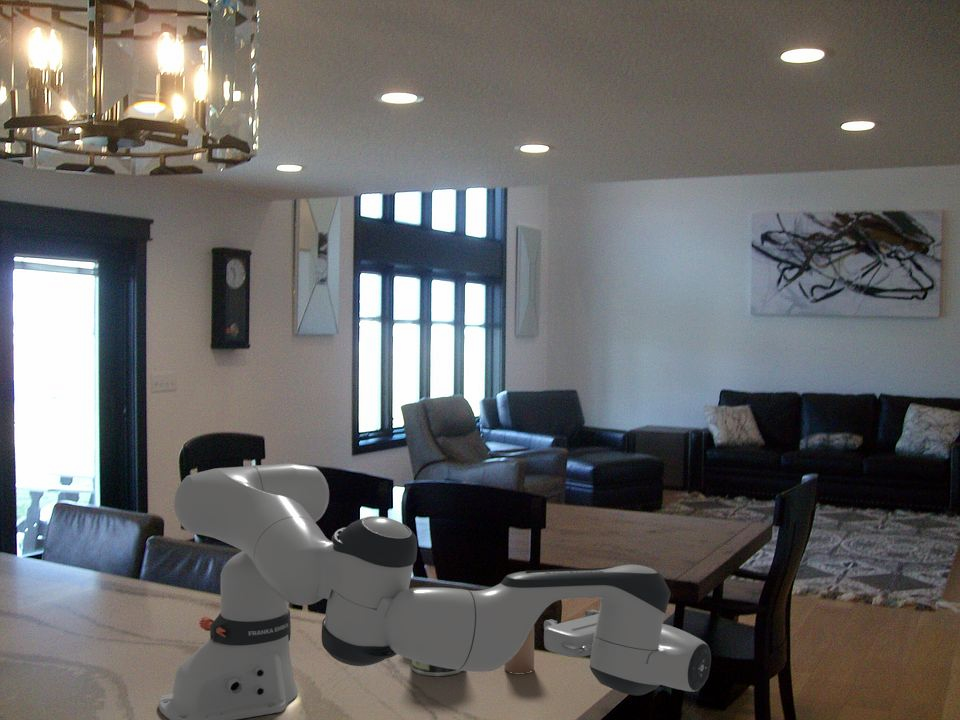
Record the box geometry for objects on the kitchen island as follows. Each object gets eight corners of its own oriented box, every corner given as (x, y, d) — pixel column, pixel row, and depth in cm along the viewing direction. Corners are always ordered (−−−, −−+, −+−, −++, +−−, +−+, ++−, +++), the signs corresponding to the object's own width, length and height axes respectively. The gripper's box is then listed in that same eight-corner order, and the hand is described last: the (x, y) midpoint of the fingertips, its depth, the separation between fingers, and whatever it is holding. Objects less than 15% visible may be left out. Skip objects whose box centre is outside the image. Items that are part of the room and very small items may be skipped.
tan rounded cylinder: (517, 676, 178) (517, 615, 177) (498, 668, 182) (498, 608, 182) (540, 670, 181) (540, 610, 181) (521, 662, 185) (521, 603, 185)
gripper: (577, 673, 154) (521, 649, 165) (667, 647, 167) (609, 626, 178) (578, 633, 154) (521, 611, 165) (668, 610, 166) (609, 591, 178)
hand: (567, 619), depth 172 cm, fingers open, 8 cm apart
